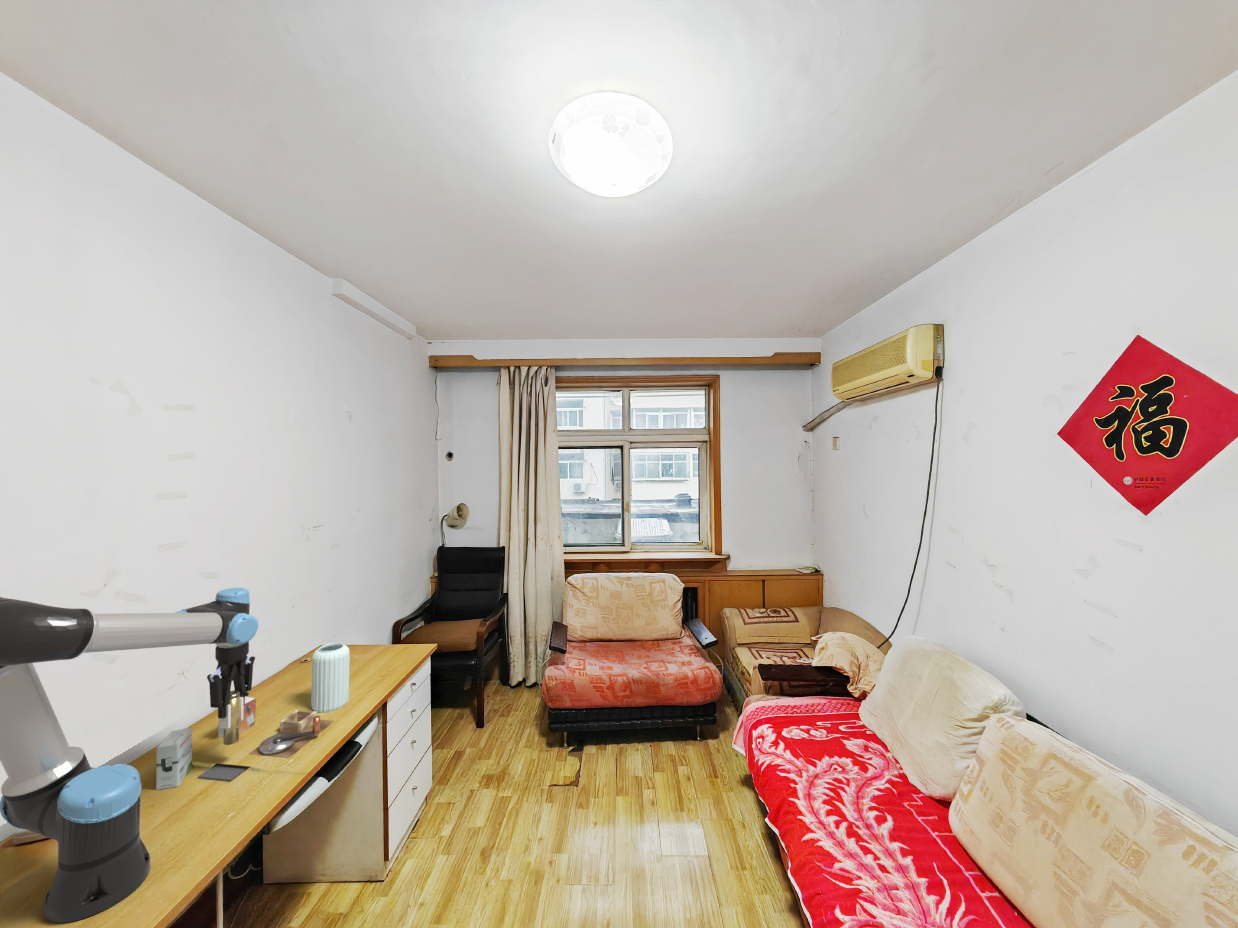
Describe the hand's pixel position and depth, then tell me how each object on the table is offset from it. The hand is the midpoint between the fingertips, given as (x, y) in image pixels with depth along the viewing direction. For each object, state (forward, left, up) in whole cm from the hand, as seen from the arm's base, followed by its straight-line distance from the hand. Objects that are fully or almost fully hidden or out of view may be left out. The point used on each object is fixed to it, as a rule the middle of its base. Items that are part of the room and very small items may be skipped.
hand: (231, 723), depth 140 cm
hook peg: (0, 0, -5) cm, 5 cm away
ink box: (-6, +11, -13) cm, 18 cm away
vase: (+34, -6, -13) cm, 37 cm away
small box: (+15, +12, -13) cm, 23 cm away
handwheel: (+11, -10, -11) cm, 18 cm away
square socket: (+19, -5, -12) cm, 23 cm away
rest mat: (0, 0, -13) cm, 13 cm away
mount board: (+14, -8, -13) cm, 21 cm away
